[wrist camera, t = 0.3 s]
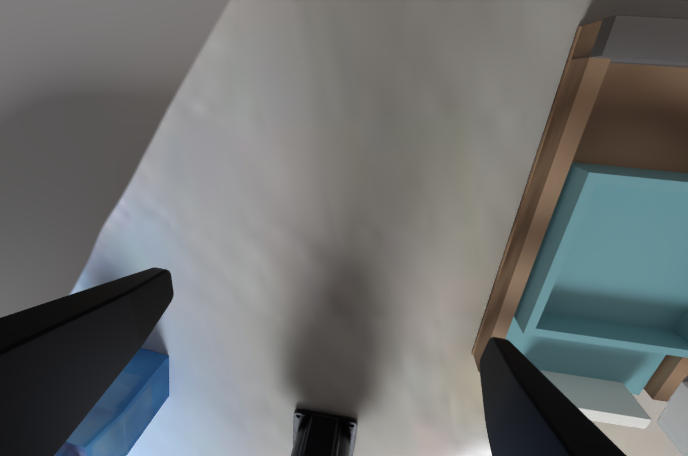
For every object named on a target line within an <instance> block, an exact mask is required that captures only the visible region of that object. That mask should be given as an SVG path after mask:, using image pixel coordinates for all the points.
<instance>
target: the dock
mask: <svg viewBox="0 0 688 456" xmlns="http://www.w3.org/2000/svg"><path fill="white" fill-rule="evenodd" d="M572 162H578V163H588V164H598V165H609V166H619V167H629V168H640V169H650V170H660V171H671V172H681V173H688V19H674V18H656V17H639V16H621V15H616V16H613V17H609V18H606V19H603V20H600V21H596V22H593V23H590V24H587V25H584V26H578V29H577V32H576V35H575V38H574V41H573V44H572V47H571V50H570V53H569V56H568V59H567V62H566V65H565V68H564V71H563V74H562V78H561V81H560V84H559V87H558V90H557V93H556V96H555V99H554V102H553V105H552V108H551V111H550V114H549V117H548V120H547V123H546V127H545V130H544V133H543V136H542V139H541V142H540V145H539V148H538V151H537V154H536V157H535V160H534V163H533V166H532V169H531V172H530V175H529V179H528V182H527V185H526V188H525V191H524V194H523V197H522V200H521V203H520V206H519V209H518V212H517V215H516V218H515V221H514V224H513V227H512V231H511V234H510V237H509V240H508V243H507V246H506V249H505V252H504V255H503V258H502V261H501V264H500V267H499V270H498V273H497V276H496V279H495V283H494V286H493V289H492V292H491V295H490V298H489V301H488V304H487V307H486V310H485V313H484V316H483V319H482V322H481V325H480V328H479V332H478V335H477V338H476V341H475V344H474V347H473V350H472V355H474V358H475V362H476V365H477V368H478V371H479V372H480V366H479V365H480V358H481V356H482V354H483V351H484V349H485V347H486V345H487V343H488V340H489V339H490V338H491V337H498V338H503V339H505V338H506V336H507V333H508V330H509V328H510V325H511V322H512V320H513V317H514V314H515V312H516V309H517V306H518V304H519V301H520V298H521V296H522V293H523V290H524V288H525V285H526V283H527V280H528V277H529V275H530V272H531V269H532V267H533V264H534V261H535V259H536V256H537V253H538V251H539V248H540V245H541V243H542V240H543V238H544V235H545V232H546V230H547V227H548V224H549V222H550V219H551V216H552V214H553V211H554V208H555V206H556V203H557V200H558V198H559V195H560V193H561V190H562V187H563V185H564V182H565V179H566V177H567V174H568V171H569V169H570V166H571V163H572ZM687 374H688V358H686V357H679V356H672V355H666V356H665V357H664V359H663V360H662V362H661V363H660V365H659V366H658V368H657V369H656V371H655V372H654V373H653V375H652V376H651V378H650V379H649V381H648V382H647V384H646V385H645V387H644V389H645V391H646V392H647V393H648V394H649V395H650V397H651V398H652V399H654V400H660V401H668V400H669V398H670V397H671V396H672V394H673V393H674V392H675V390H676V389H677V388H678V386H679V385H680V384H681V382H682V381H683V380H684V378H685V377H686V376H687Z"/></svg>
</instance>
